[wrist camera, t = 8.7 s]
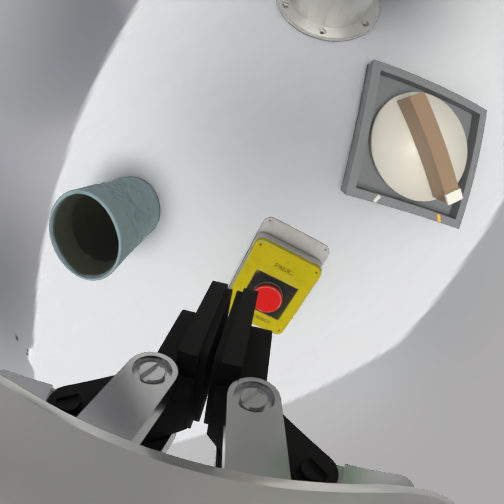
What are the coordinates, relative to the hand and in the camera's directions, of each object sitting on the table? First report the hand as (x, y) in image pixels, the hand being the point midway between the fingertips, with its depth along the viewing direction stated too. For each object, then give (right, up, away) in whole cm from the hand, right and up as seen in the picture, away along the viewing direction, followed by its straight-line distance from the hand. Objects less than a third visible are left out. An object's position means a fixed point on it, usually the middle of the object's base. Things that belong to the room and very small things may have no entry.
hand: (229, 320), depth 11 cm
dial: (+21, +15, +20) cm, 32 cm away
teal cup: (-15, +8, +28) cm, 33 cm away
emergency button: (+4, -1, +30) cm, 30 cm away
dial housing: (+21, +15, +21) cm, 33 cm away
